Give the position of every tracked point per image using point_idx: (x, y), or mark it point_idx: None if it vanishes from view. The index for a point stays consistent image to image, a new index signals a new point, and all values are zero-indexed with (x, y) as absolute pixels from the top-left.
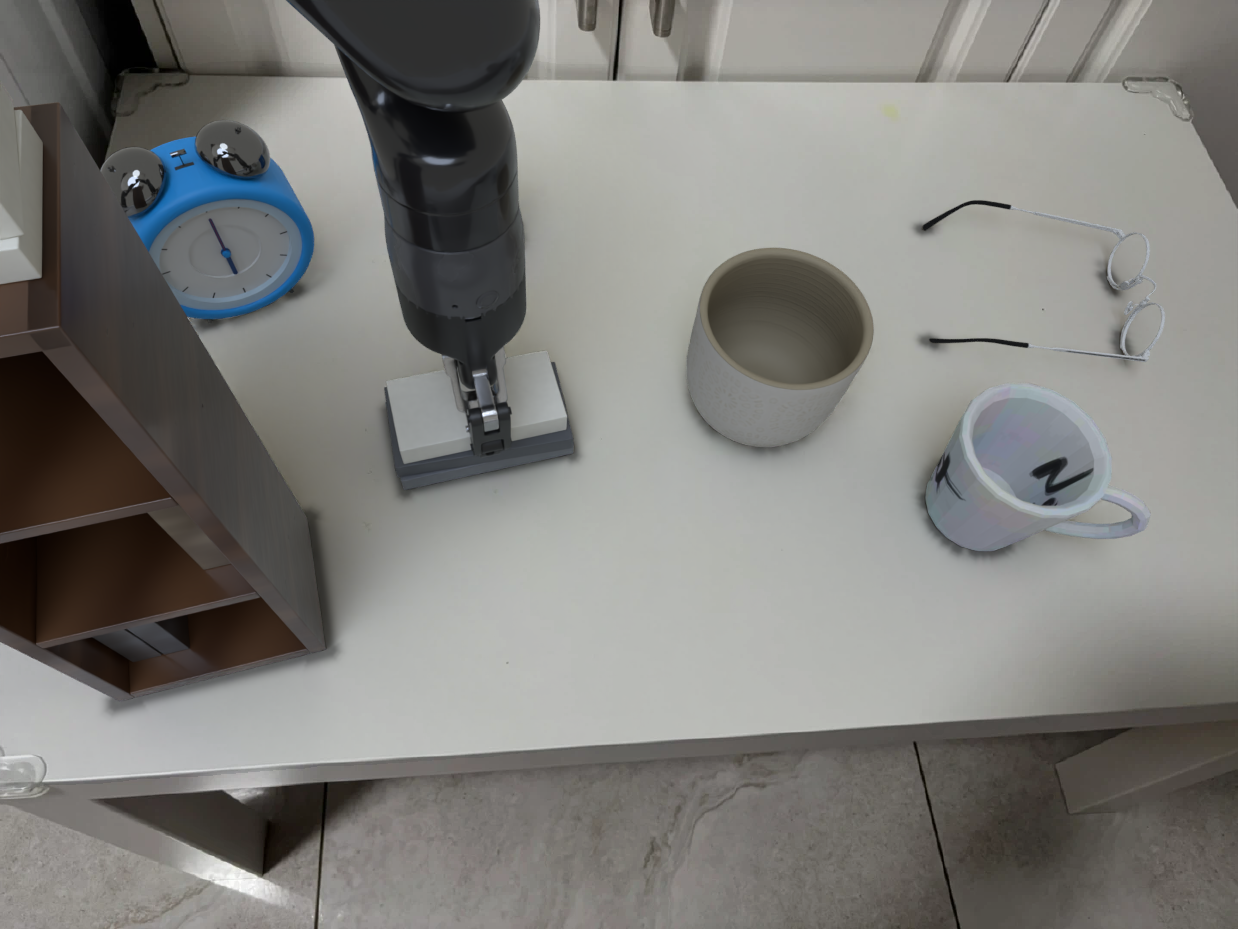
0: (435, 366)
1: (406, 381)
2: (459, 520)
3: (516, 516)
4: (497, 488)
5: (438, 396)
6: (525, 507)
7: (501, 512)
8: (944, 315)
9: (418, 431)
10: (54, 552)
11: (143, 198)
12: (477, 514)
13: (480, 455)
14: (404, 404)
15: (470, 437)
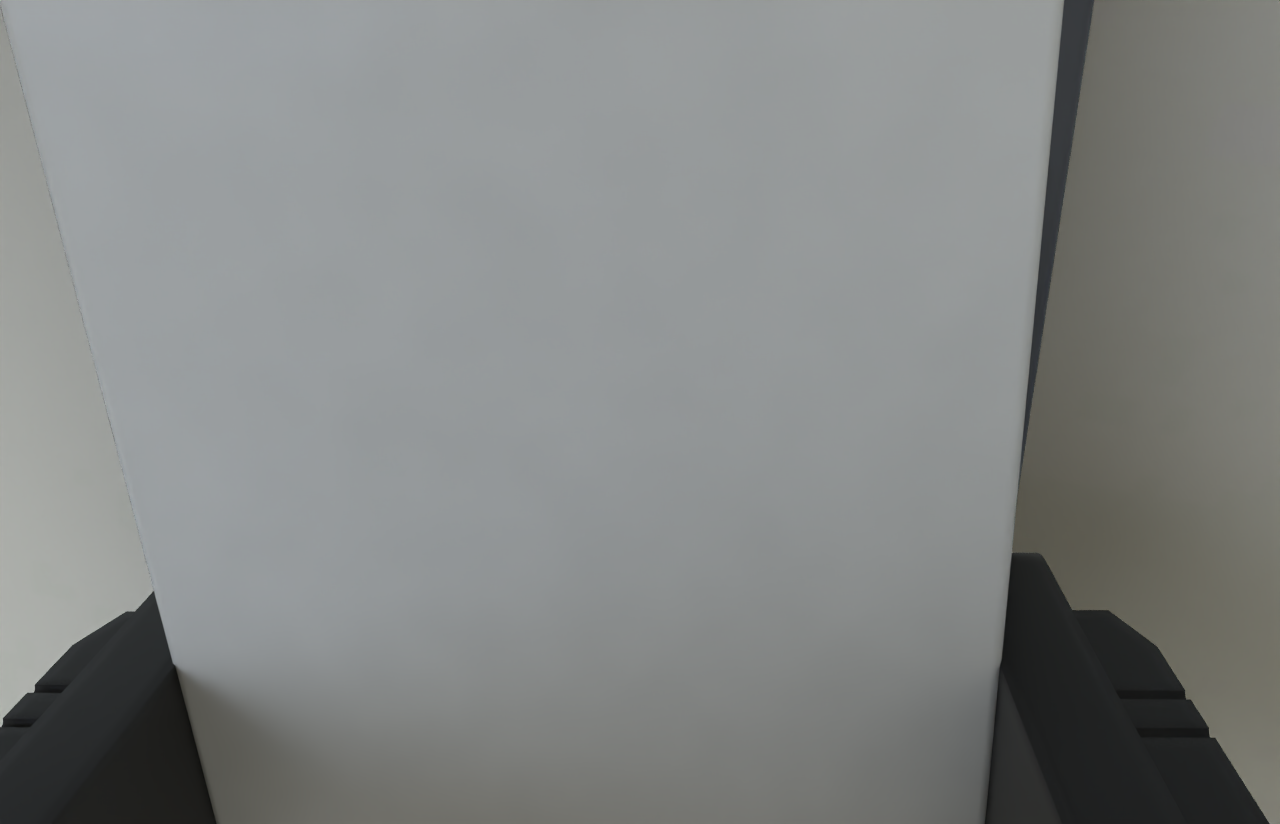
0: (1273, 287)
1: (978, 154)
2: (17, 251)
3: (52, 565)
4: None
5: (673, 474)
6: (108, 619)
7: (76, 496)
8: None
9: (250, 197)
10: None
11: None
12: (60, 364)
13: (53, 667)
14: (641, 83)
15: (111, 694)
